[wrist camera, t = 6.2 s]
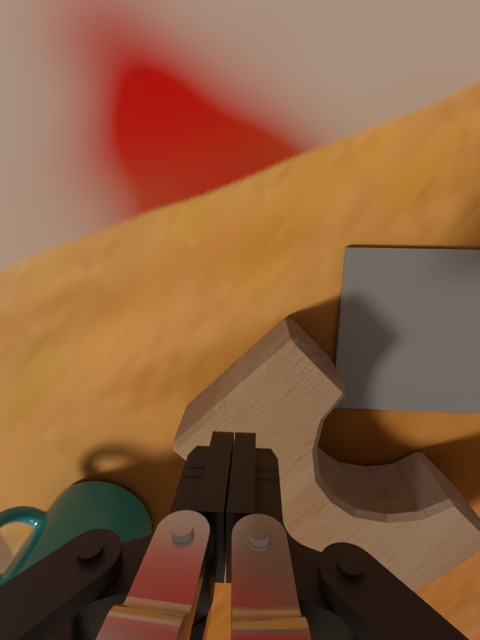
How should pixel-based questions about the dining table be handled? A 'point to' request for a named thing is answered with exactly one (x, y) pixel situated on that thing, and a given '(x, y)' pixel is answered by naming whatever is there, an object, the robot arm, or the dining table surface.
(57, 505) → the cup
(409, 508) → the decorative block
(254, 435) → the robot arm
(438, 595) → the dining table surface
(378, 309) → the mat
